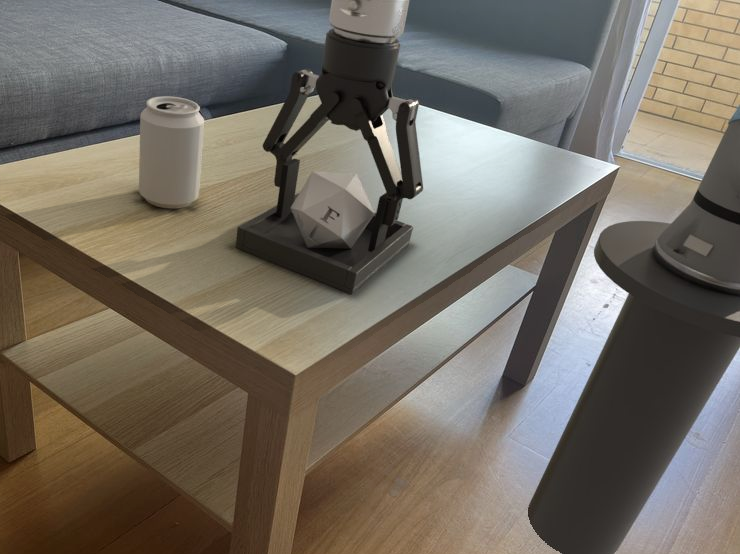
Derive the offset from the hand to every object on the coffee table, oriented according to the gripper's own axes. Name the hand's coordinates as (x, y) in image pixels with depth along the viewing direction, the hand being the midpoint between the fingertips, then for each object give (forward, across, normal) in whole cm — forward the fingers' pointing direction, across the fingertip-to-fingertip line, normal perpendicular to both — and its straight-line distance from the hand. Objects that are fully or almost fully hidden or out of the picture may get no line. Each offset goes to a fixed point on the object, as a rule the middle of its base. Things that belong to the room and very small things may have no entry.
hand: (328, 230), depth 85 cm
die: (+2, 0, 0) cm, 2 cm away
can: (+2, -21, -3) cm, 21 cm away
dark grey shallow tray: (+2, 0, 0) cm, 2 cm away
